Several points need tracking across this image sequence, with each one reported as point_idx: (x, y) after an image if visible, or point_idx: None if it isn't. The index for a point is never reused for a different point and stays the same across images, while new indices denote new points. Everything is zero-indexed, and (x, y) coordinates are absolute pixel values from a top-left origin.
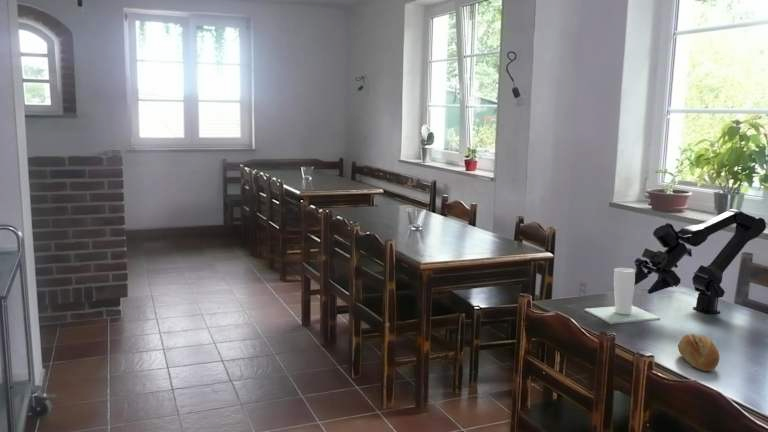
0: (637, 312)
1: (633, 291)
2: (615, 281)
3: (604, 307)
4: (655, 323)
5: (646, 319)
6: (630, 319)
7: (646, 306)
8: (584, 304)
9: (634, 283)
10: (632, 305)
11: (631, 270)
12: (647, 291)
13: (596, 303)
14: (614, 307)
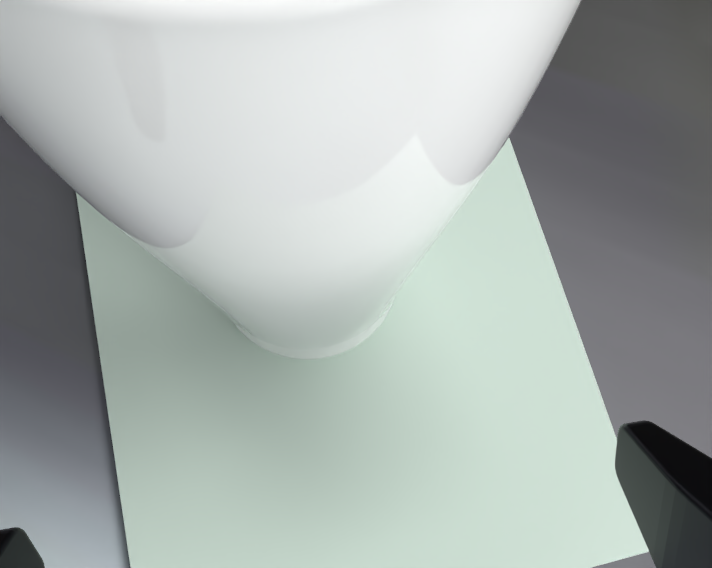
0: (348, 473)
1: (182, 279)
2: None
3: (509, 161)
4: (30, 535)
5: (119, 470)
6: (111, 271)
7: None
8: (647, 33)
9: (117, 227)
10: (639, 549)
11: (347, 9)
12: (11, 531)
13: (708, 164)
14: (523, 272)
